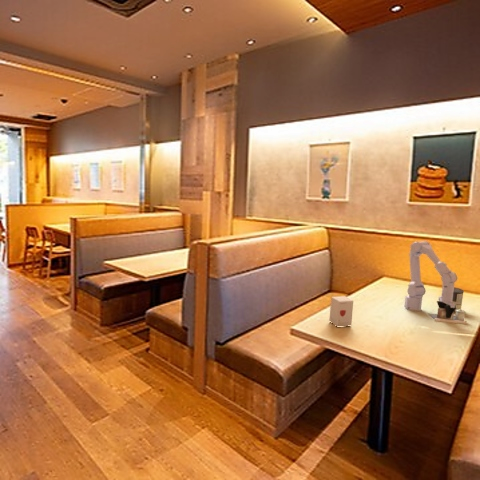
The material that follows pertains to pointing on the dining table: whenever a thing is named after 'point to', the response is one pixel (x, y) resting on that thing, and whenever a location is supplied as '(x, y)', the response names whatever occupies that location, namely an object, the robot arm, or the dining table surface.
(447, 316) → the robot arm
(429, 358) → the dining table surface
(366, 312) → the dining table surface
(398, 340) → the dining table surface
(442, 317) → the tea box
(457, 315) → the celadon jar
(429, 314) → the shelf board
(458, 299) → the coffee can
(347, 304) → the supplement box
